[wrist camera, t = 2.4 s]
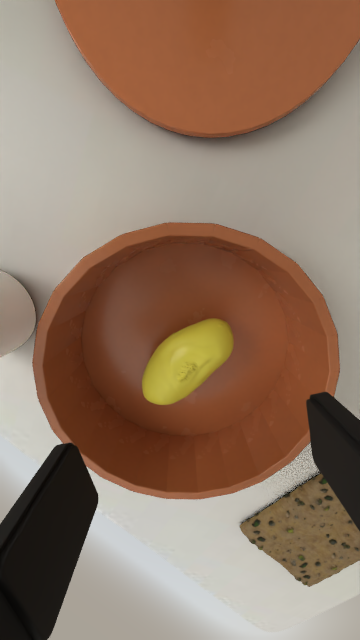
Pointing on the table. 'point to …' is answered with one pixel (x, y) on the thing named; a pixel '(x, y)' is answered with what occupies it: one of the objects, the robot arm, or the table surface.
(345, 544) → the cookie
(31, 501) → the robot arm
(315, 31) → the lid
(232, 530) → the table surface
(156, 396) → the lemon
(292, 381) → the pot
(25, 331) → the can
